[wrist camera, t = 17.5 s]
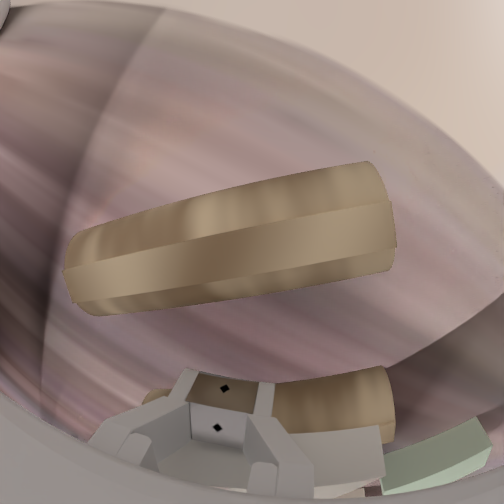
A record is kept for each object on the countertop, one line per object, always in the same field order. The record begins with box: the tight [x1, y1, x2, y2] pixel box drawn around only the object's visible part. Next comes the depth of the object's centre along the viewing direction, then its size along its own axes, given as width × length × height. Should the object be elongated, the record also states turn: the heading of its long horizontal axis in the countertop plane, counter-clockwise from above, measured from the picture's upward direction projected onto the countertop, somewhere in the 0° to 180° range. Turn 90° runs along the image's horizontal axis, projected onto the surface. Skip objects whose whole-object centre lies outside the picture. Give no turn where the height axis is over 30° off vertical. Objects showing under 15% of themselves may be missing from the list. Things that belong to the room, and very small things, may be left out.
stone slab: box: [157, 425, 386, 499], centre depth 12 cm, size 9×14×2 cm, turn 1°
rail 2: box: [142, 365, 396, 444], centre depth 13 cm, size 12×4×4 cm, turn 103°
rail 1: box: [62, 161, 397, 316], centre depth 11 cm, size 12×4×4 cm, turn 103°
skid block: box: [380, 417, 493, 495], centre depth 13 cm, size 8×3×4 cm, turn 110°
